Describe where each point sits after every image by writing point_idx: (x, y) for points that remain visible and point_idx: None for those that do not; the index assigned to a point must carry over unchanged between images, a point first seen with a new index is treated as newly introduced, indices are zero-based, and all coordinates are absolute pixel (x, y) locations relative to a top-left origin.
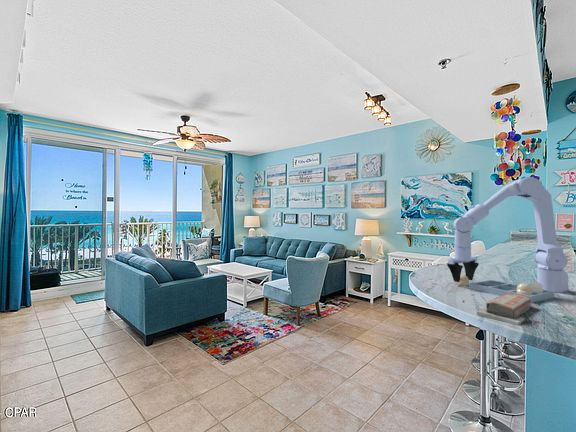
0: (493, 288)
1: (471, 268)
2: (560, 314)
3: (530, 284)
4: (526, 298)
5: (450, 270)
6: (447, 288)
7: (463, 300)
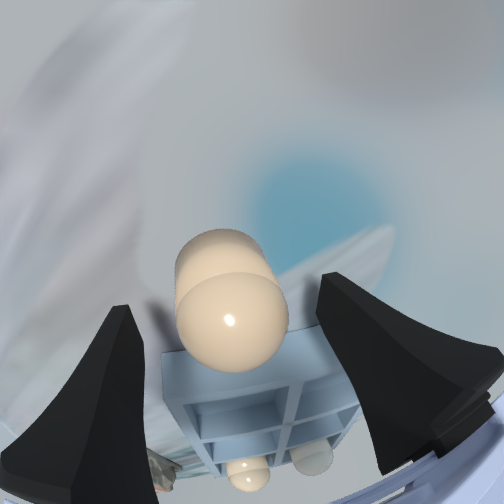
0: (195, 450)
1: (374, 408)
2: (207, 470)
3: (302, 469)
4: (157, 492)
5: (53, 404)
6: (58, 263)
7: (40, 409)
